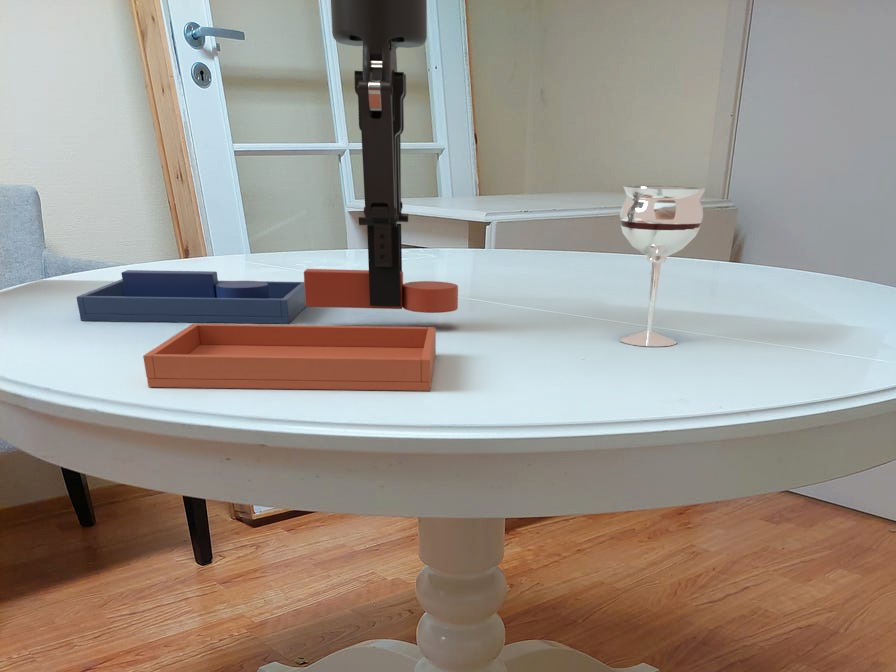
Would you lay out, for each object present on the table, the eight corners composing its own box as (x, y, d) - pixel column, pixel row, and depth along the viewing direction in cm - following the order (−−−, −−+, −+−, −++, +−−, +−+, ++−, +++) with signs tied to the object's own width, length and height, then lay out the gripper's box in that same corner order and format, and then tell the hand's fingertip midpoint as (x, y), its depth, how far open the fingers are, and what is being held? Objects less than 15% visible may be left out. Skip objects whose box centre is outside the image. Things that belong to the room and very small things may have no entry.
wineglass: (695, 338, 79) (715, 187, 73) (675, 351, 74) (695, 190, 68) (623, 331, 82) (636, 184, 76) (598, 343, 76) (610, 187, 70)
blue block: (120, 308, 85) (115, 274, 83) (137, 300, 89) (132, 267, 88) (264, 310, 85) (261, 276, 83) (274, 302, 89) (271, 270, 88)
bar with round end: (302, 309, 78) (300, 273, 77) (311, 301, 83) (309, 266, 81) (457, 313, 79) (457, 277, 77) (458, 304, 83) (458, 270, 82)
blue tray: (80, 320, 82) (75, 296, 81) (125, 300, 92) (121, 279, 91) (289, 323, 82) (287, 299, 81) (309, 303, 93) (307, 281, 92)
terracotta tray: (148, 387, 60) (142, 355, 59) (195, 351, 71) (192, 323, 70) (430, 391, 61) (429, 359, 60) (435, 354, 71) (435, 327, 70)
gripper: (422, -31, 63) (424, 318, 74) (430, -1, 76) (430, 292, 87) (316, -35, 62) (334, 316, 74) (341, -4, 75) (354, 290, 87)
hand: (386, 302), depth 81 cm, fingers closed on bar with round end, 2 cm apart
